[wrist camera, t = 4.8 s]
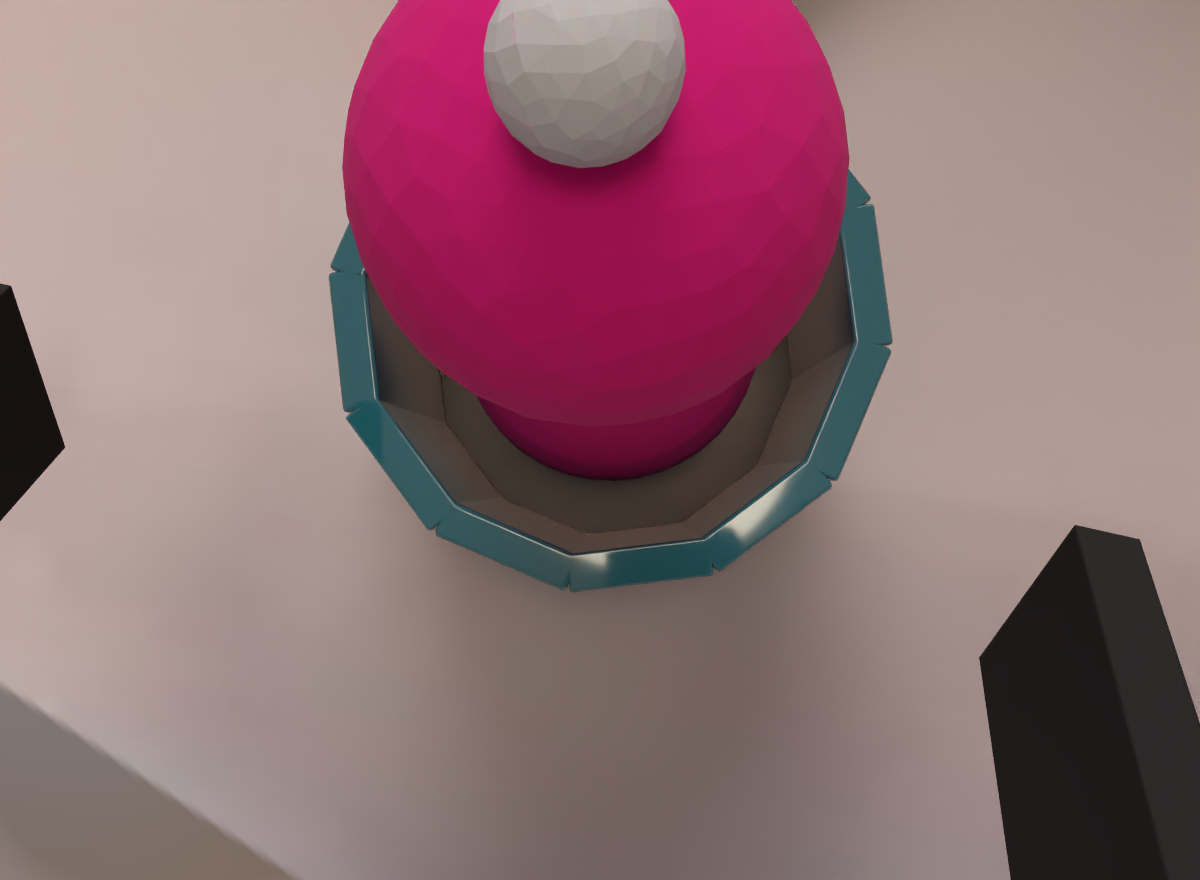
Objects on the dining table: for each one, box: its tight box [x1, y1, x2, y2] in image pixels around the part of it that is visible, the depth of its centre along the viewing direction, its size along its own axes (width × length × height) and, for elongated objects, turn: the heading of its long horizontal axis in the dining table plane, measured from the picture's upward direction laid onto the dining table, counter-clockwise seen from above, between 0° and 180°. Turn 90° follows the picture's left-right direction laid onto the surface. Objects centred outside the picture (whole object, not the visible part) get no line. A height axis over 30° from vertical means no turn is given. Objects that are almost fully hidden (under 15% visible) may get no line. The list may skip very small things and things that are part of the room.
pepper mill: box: [342, 0, 849, 481], centre depth 18 cm, size 7×7×20 cm
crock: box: [329, 169, 893, 592], centre depth 24 cm, size 12×12×8 cm
